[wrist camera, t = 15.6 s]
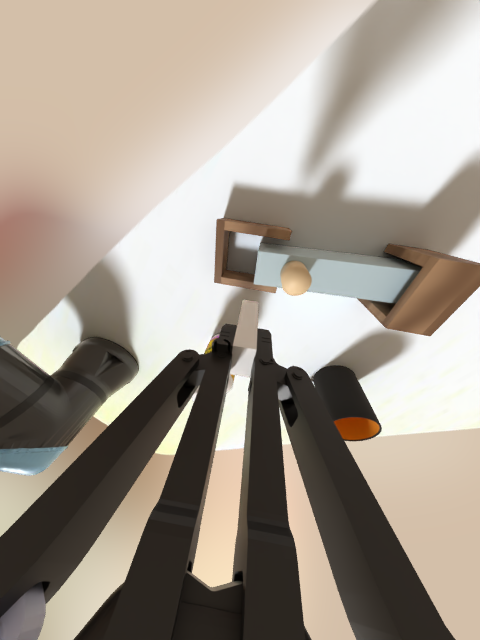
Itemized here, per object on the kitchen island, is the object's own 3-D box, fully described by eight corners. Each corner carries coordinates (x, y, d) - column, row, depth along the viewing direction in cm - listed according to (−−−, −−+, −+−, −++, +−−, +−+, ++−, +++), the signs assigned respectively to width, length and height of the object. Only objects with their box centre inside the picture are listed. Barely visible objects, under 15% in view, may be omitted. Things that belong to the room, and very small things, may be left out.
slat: (256, 269, 27) (251, 293, 19) (260, 242, 24) (256, 257, 17) (383, 286, 25) (430, 319, 18) (399, 258, 23) (461, 283, 16)
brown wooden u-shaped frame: (220, 274, 28) (214, 282, 25) (223, 218, 23) (216, 219, 20) (274, 284, 27) (275, 293, 24) (288, 228, 23) (291, 231, 20)
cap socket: (357, 298, 27) (386, 328, 20) (388, 243, 22) (439, 258, 15) (389, 304, 26) (430, 336, 20) (428, 249, 22) (497, 268, 15)
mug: (291, 375, 38) (297, 424, 30) (348, 360, 34) (376, 412, 25) (305, 396, 42) (314, 445, 33) (359, 385, 37) (386, 438, 28)
